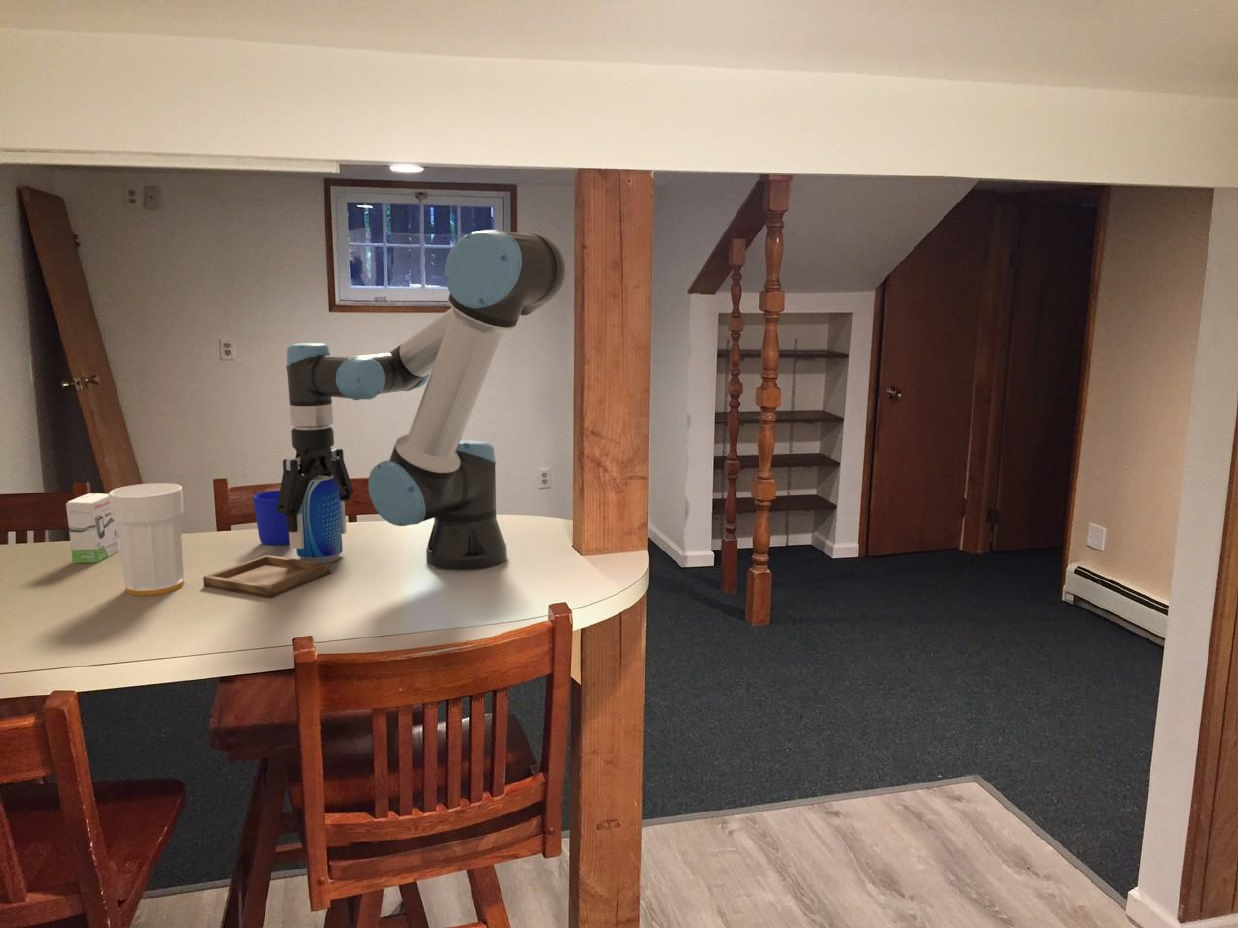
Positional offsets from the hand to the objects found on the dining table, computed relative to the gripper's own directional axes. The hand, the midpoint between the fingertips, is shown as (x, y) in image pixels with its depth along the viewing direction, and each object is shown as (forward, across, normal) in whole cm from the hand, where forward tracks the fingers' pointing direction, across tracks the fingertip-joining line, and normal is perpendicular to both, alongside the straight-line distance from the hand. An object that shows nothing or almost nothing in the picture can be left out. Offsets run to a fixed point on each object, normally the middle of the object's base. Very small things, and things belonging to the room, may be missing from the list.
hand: (319, 540), depth 186 cm
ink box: (+4, +17, -40) cm, 44 cm away
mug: (+4, -7, -16) cm, 18 cm away
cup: (+4, +26, -14) cm, 30 cm away
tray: (+4, +14, +1) cm, 15 cm away
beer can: (+4, 0, 0) cm, 4 cm away
